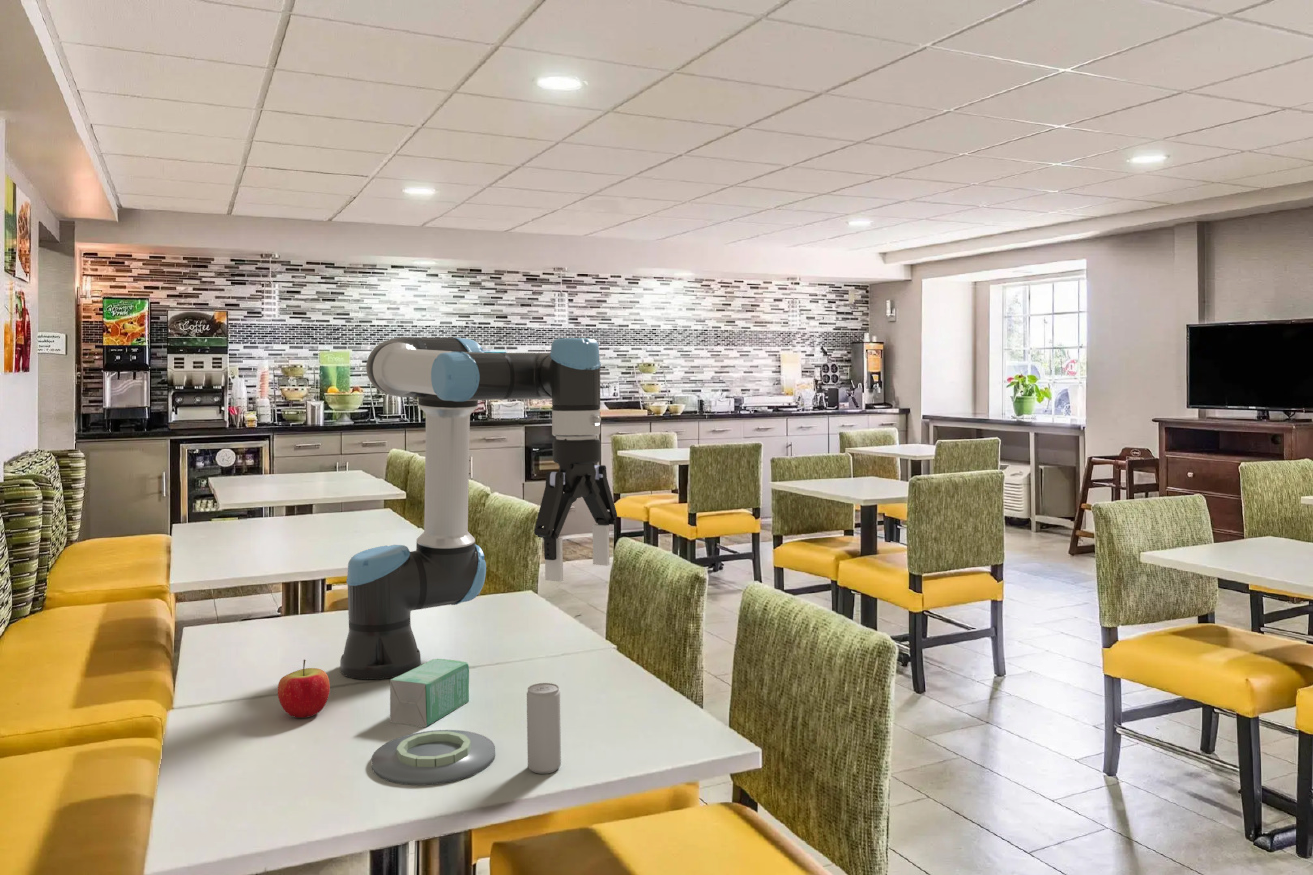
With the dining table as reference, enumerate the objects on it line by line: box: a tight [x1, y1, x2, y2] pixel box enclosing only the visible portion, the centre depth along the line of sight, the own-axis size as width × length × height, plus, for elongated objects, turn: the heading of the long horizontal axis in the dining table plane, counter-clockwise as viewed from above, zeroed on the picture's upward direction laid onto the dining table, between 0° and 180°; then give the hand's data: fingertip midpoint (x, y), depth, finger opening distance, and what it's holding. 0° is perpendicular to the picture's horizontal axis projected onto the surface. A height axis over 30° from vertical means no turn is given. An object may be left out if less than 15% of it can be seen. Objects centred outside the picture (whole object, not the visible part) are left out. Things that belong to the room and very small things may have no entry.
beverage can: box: [526, 682, 562, 775], centre depth 139 cm, size 5×5×12 cm
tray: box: [371, 729, 496, 786], centre depth 143 cm, size 18×18×2 cm
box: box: [389, 658, 470, 728], centre depth 163 cm, size 7×14×8 cm, turn 160°
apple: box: [277, 659, 331, 719], centre depth 161 cm, size 8×8×10 cm
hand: (578, 572), depth 150 cm, fingers open, 13 cm apart
